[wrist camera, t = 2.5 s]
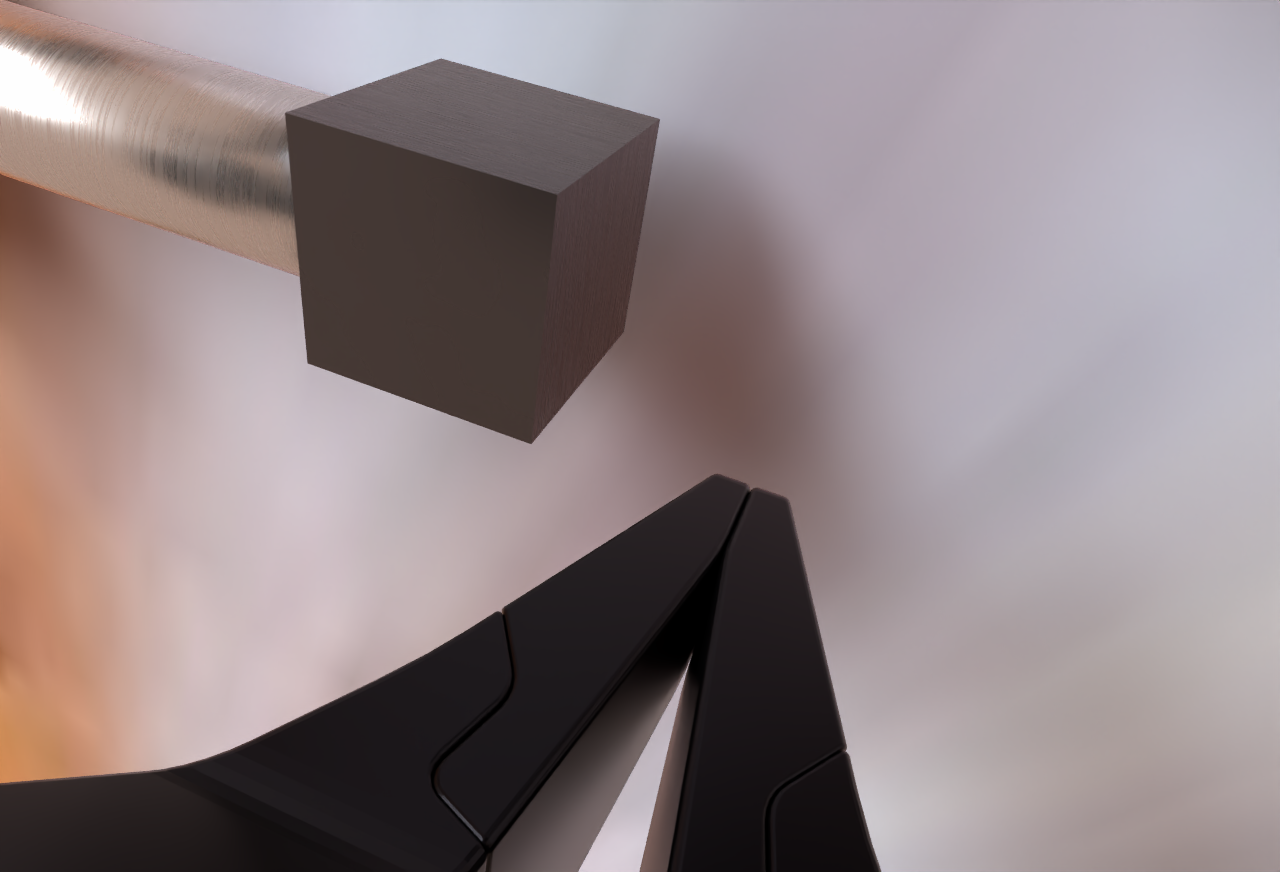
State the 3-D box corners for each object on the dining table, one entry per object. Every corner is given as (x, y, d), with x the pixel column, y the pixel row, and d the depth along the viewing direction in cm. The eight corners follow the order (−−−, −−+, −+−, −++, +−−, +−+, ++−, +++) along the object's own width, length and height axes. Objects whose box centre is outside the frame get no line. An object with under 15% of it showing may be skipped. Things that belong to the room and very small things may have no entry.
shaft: (659, 119, 14) (557, 194, 11) (623, 331, 16) (531, 443, 13) (-339, -157, 18) (-624, -161, 15) (-250, 45, 20) (-479, 78, 17)
